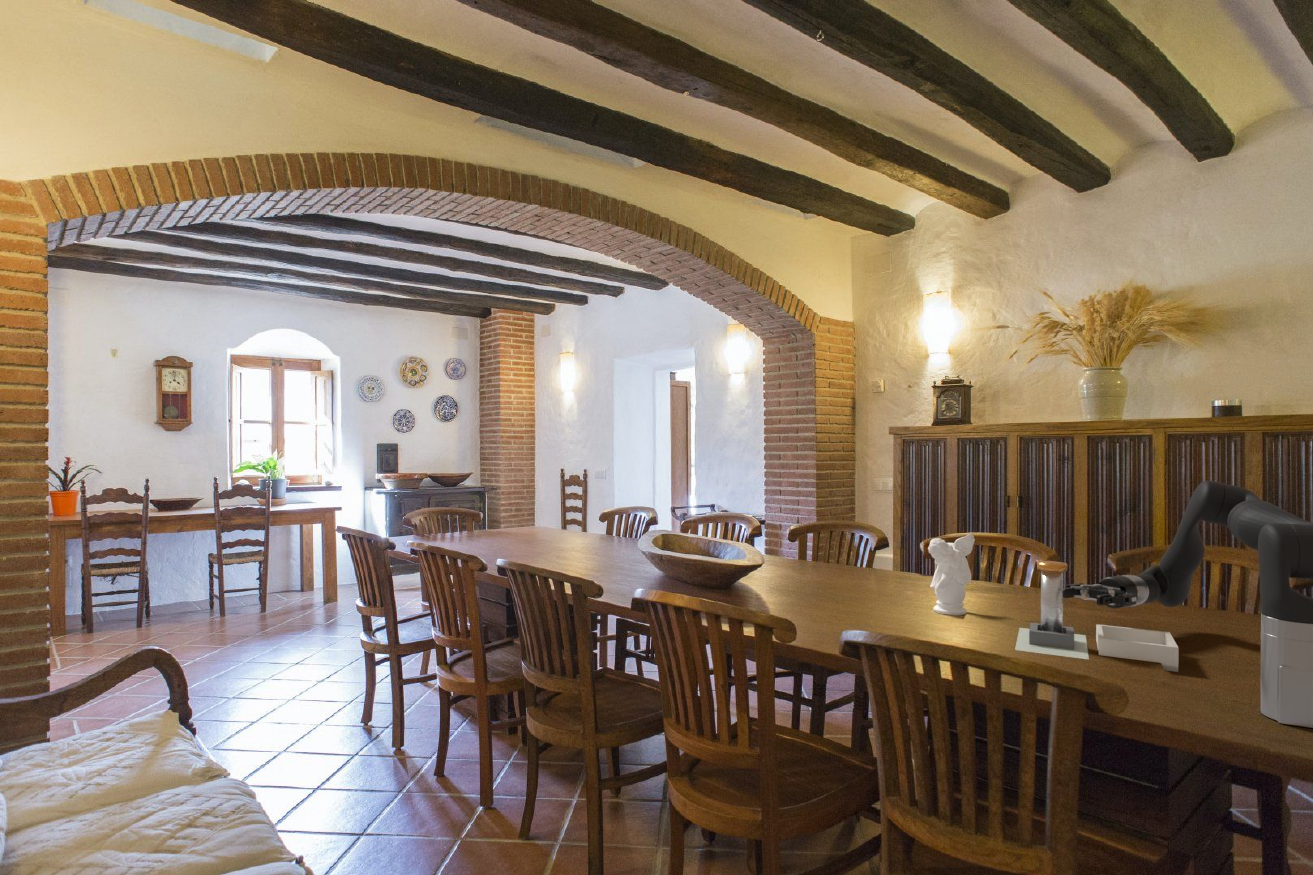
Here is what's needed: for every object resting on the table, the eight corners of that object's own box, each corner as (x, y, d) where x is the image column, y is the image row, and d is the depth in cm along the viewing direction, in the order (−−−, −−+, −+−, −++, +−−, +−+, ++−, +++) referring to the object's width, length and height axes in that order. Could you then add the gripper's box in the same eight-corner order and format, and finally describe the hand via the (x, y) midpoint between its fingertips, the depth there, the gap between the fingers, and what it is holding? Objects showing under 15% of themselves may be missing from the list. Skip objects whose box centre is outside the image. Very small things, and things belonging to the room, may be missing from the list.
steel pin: (1066, 647, 164) (1067, 566, 164) (1036, 643, 167) (1036, 563, 167) (1066, 640, 169) (1067, 562, 169) (1037, 637, 172) (1037, 559, 172)
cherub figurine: (929, 614, 201) (928, 533, 202) (927, 604, 213) (926, 528, 213) (977, 617, 198) (976, 534, 198) (973, 607, 209) (972, 529, 210)
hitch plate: (1088, 666, 155) (1089, 645, 155) (1014, 656, 162) (1014, 636, 162) (1085, 641, 174) (1085, 622, 174) (1019, 633, 181) (1019, 615, 181)
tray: (1178, 671, 152) (1178, 647, 152) (1098, 661, 159) (1099, 638, 159) (1169, 654, 164) (1169, 632, 164) (1096, 645, 171) (1096, 624, 171)
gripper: (1094, 571, 186) (1052, 575, 179) (1153, 580, 173) (1110, 586, 166) (1094, 600, 186) (1051, 606, 179) (1153, 612, 173) (1110, 619, 166)
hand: (1080, 596), depth 172 cm, fingers open, 8 cm apart
